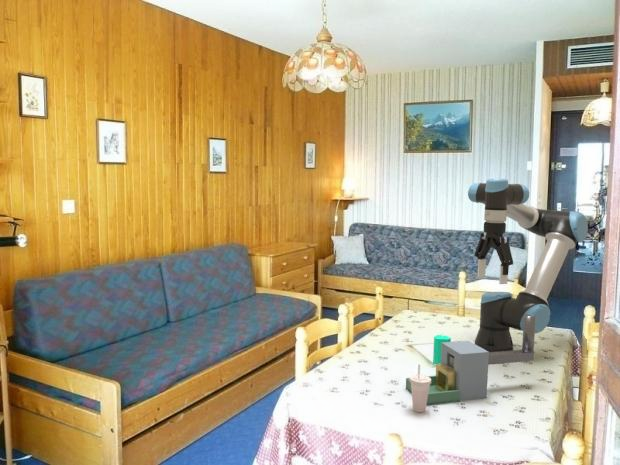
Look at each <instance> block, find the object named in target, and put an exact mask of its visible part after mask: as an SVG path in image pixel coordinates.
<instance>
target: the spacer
mask: <svg viewBox="0 0 620 465" xmlns="http://www.w3.org/2000/svg"><path fill="white" fill-rule="evenodd" d="M455 374H456V372H455V371H453V370H452V369H451V368H449V367H448V366H446V365H445V364H443V363H442V364H436V366H435V376H436V379H435V388H437V389H438V390H439V391H440V392H443V391H453V390H455ZM445 375H446V384H444V383H445Z"/></svg>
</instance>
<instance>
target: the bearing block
mask: <svg viewBox="0 0 620 465" xmlns="http://www.w3.org/2000/svg"><path fill="white" fill-rule="evenodd" d="M451 355H453V356H454V368H453V367H452V366H450V365H449V356H451ZM488 361H489V352H488V351H486V350H485V349H483V348H481V347H479V346H477V345H475V342H471V341H470V340H460V341H459V340H458V341H451V342H443V343H442V345H441V364H442V363H443V364H445V365H446V366H448V367H449V368H451V369H452V370H453V371H455V372H456V374H455V390H460V401H468V400H477V399H486V398H487V395H488V376H489V365H488ZM444 384H446V375H445V383H444Z"/></svg>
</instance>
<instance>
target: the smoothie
mask: <svg viewBox="0 0 620 465" xmlns="http://www.w3.org/2000/svg"><path fill="white" fill-rule="evenodd" d="M428 376H429V375H423V374H421V364H420V363H418V364H417V374H413V375H411V376H410V377H409V378H410V382H411V391H412V393H411V400H412V409H413V411H414V412H418V413H424V412H426V410H427V406H428V405H427V399H428V393H429V387H430V384H431V378H430V377H428Z"/></svg>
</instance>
